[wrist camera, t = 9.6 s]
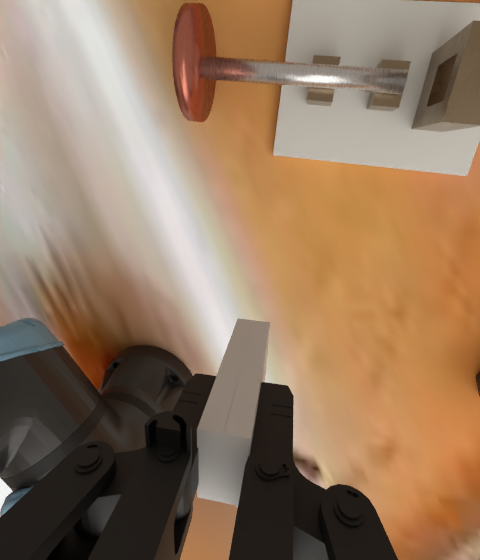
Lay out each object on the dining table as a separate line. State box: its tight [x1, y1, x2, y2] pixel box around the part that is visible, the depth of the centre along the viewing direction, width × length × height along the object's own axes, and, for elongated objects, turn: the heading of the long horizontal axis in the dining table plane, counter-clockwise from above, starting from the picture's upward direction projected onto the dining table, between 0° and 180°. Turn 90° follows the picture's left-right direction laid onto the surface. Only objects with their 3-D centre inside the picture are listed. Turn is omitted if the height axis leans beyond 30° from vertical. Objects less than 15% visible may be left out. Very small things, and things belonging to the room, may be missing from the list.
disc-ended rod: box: [173, 3, 408, 122], centre depth 29 cm, size 20×9×9 cm, turn 84°
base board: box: [273, 0, 480, 176], centre depth 32 cm, size 20×14×1 cm
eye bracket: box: [307, 20, 480, 132], centre depth 28 cm, size 14×6×8 cm, turn 84°
